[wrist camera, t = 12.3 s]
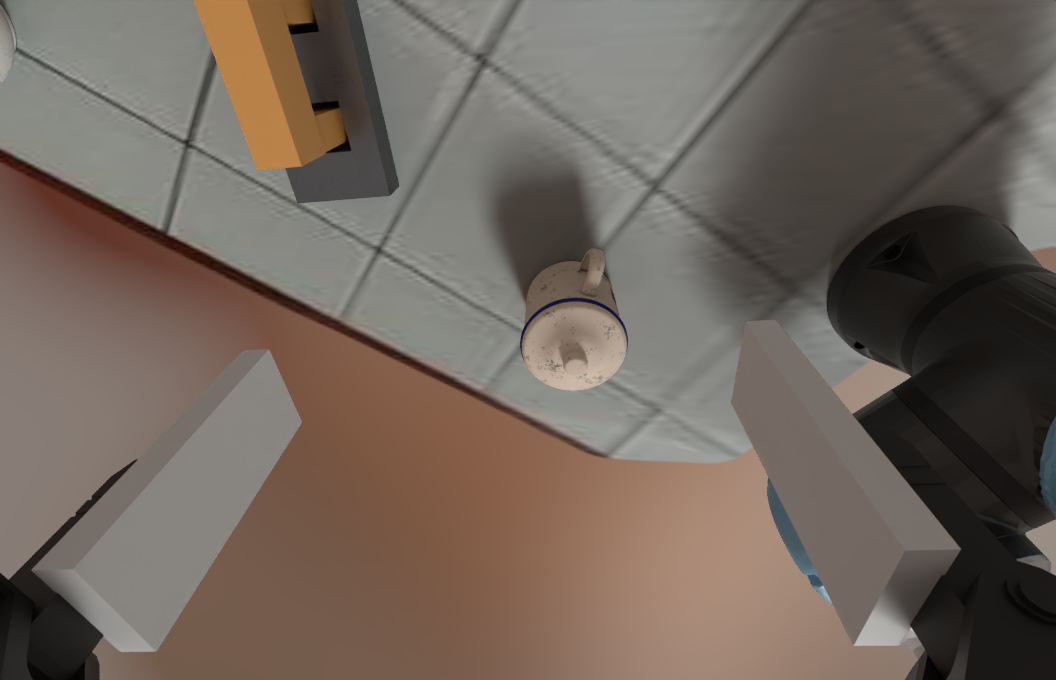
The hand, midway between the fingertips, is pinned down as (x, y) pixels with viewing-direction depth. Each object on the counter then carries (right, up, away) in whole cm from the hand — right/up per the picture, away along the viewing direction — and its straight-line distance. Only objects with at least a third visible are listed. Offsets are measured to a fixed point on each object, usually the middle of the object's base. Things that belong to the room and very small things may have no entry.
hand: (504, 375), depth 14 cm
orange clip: (-16, +22, +24) cm, 36 cm away
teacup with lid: (+5, +6, +34) cm, 35 cm away
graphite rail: (-16, +22, +24) cm, 36 cm away
